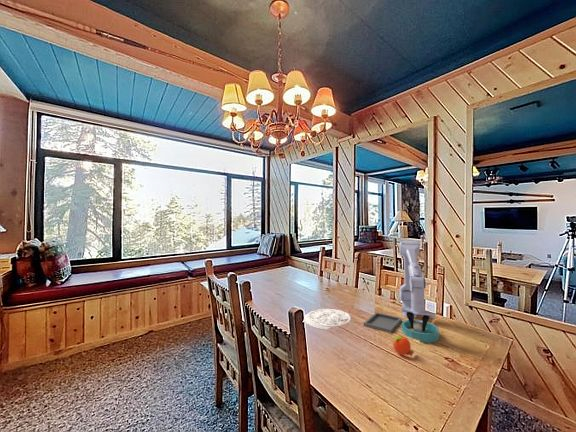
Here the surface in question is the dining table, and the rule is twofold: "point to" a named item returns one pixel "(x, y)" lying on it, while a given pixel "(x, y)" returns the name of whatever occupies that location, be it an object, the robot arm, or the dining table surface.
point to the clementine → (401, 345)
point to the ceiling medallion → (326, 318)
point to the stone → (418, 326)
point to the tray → (383, 322)
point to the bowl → (426, 337)
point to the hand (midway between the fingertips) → (418, 329)
